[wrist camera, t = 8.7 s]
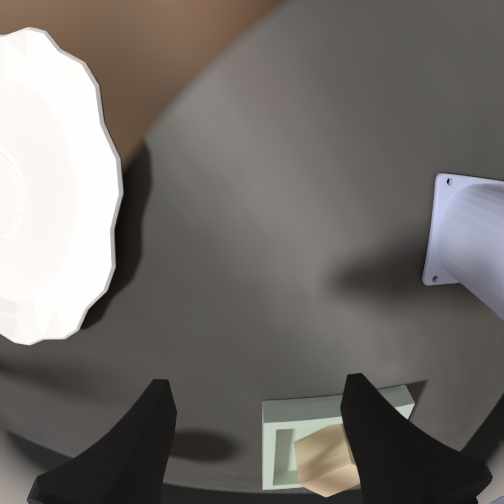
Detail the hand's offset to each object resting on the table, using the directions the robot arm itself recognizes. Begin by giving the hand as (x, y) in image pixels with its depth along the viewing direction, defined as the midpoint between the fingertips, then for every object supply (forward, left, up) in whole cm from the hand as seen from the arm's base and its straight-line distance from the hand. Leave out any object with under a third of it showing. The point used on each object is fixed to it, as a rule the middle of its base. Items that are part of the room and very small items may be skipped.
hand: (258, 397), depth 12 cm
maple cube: (-7, +17, -9) cm, 20 cm away
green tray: (-7, +17, -9) cm, 21 cm away
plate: (+20, -8, -10) cm, 24 cm away
